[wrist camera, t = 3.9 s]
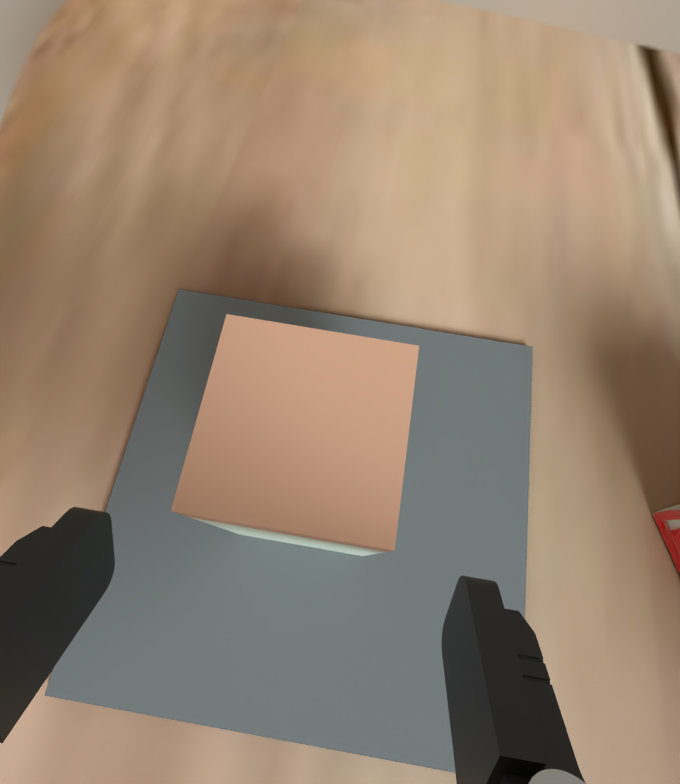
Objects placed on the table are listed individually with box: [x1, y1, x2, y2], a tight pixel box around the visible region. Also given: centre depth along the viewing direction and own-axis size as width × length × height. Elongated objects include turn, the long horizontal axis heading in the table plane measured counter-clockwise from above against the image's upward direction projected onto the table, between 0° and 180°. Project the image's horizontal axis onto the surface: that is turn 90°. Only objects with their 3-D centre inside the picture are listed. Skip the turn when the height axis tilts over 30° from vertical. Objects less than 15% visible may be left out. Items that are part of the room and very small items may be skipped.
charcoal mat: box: [45, 289, 532, 773], centre depth 20 cm, size 17×17×1 cm
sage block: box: [171, 314, 419, 556], centre depth 15 cm, size 5×5×9 cm
